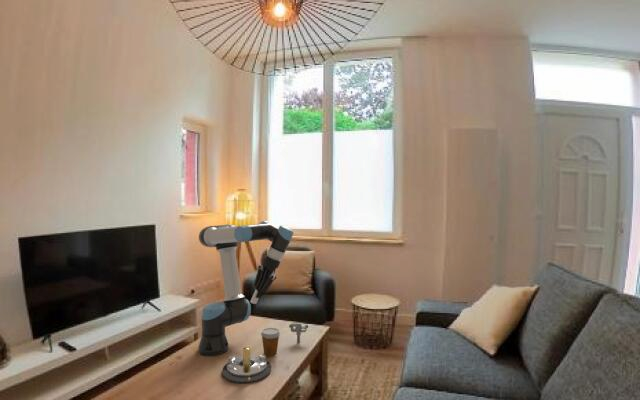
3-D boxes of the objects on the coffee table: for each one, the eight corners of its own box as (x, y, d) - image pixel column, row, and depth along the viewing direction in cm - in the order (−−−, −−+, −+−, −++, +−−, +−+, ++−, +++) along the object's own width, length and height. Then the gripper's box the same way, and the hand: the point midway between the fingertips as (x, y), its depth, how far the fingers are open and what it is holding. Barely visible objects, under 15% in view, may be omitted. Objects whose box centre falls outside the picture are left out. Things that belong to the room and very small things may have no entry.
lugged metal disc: (228, 359, 181) (228, 335, 181) (266, 357, 184) (266, 333, 184) (225, 378, 163) (225, 351, 163) (267, 375, 166) (267, 349, 166)
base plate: (214, 369, 175) (214, 365, 175) (255, 356, 189) (255, 352, 189) (236, 389, 158) (236, 384, 158) (280, 372, 172) (280, 368, 172)
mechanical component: (307, 343, 205) (307, 325, 205) (288, 343, 205) (289, 325, 205) (307, 341, 208) (308, 323, 207) (289, 341, 208) (289, 323, 208)
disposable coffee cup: (283, 354, 192) (283, 331, 191) (268, 360, 185) (269, 336, 184) (271, 348, 198) (271, 326, 198) (257, 354, 191) (257, 331, 191)
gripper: (287, 264, 176) (266, 310, 176) (272, 253, 185) (252, 297, 185) (275, 261, 171) (253, 308, 171) (260, 250, 180) (240, 295, 180)
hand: (253, 302), depth 178 cm, fingers closed
